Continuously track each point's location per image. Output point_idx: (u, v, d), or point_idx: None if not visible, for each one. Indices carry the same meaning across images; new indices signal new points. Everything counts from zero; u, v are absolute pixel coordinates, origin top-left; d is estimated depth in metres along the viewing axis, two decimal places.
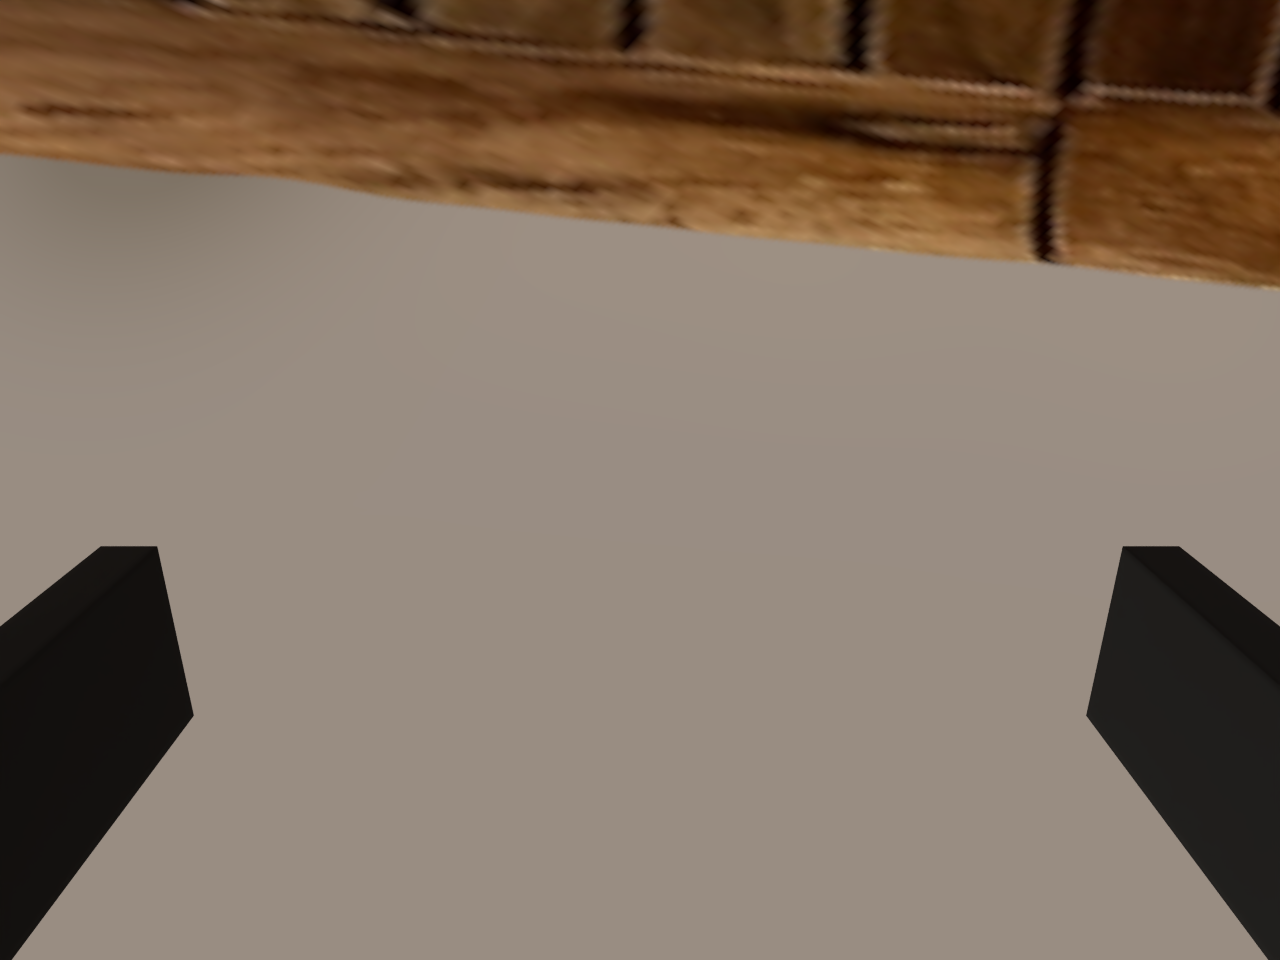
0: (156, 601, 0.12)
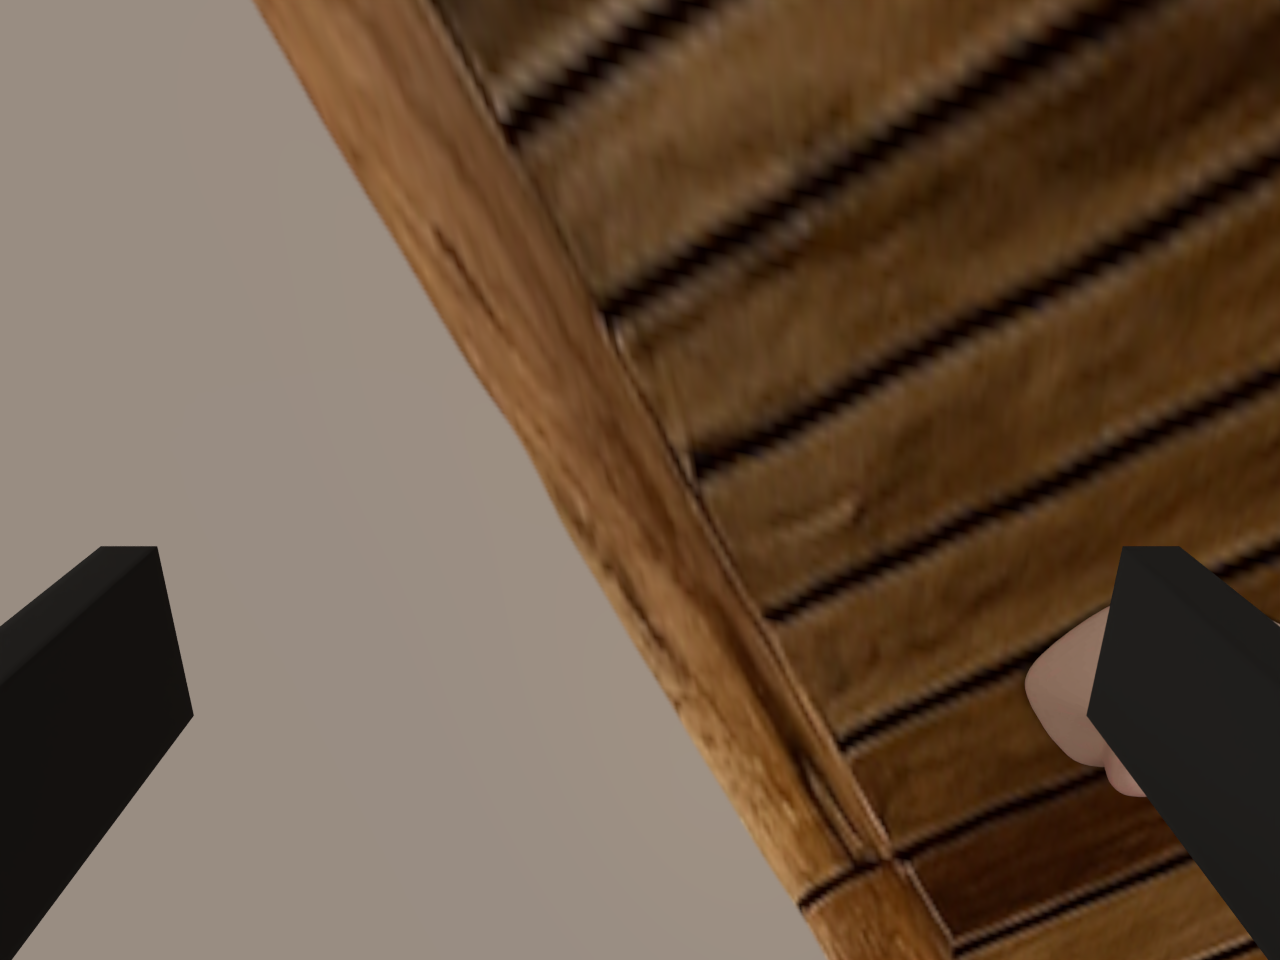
0: (156, 601, 0.12)
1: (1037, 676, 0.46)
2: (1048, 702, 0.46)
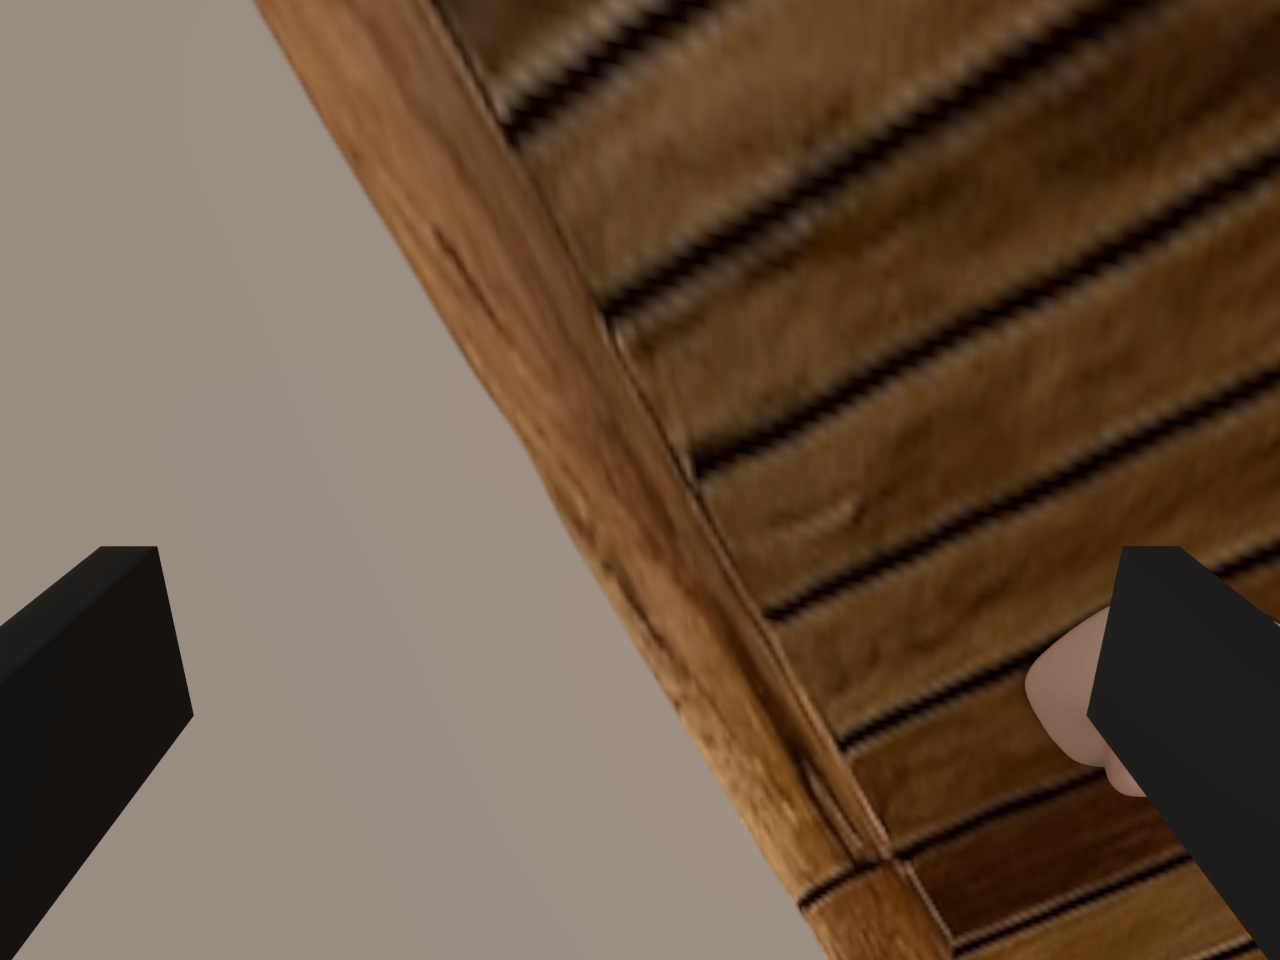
0: (156, 601, 0.12)
1: (1037, 676, 0.46)
2: (1048, 702, 0.46)
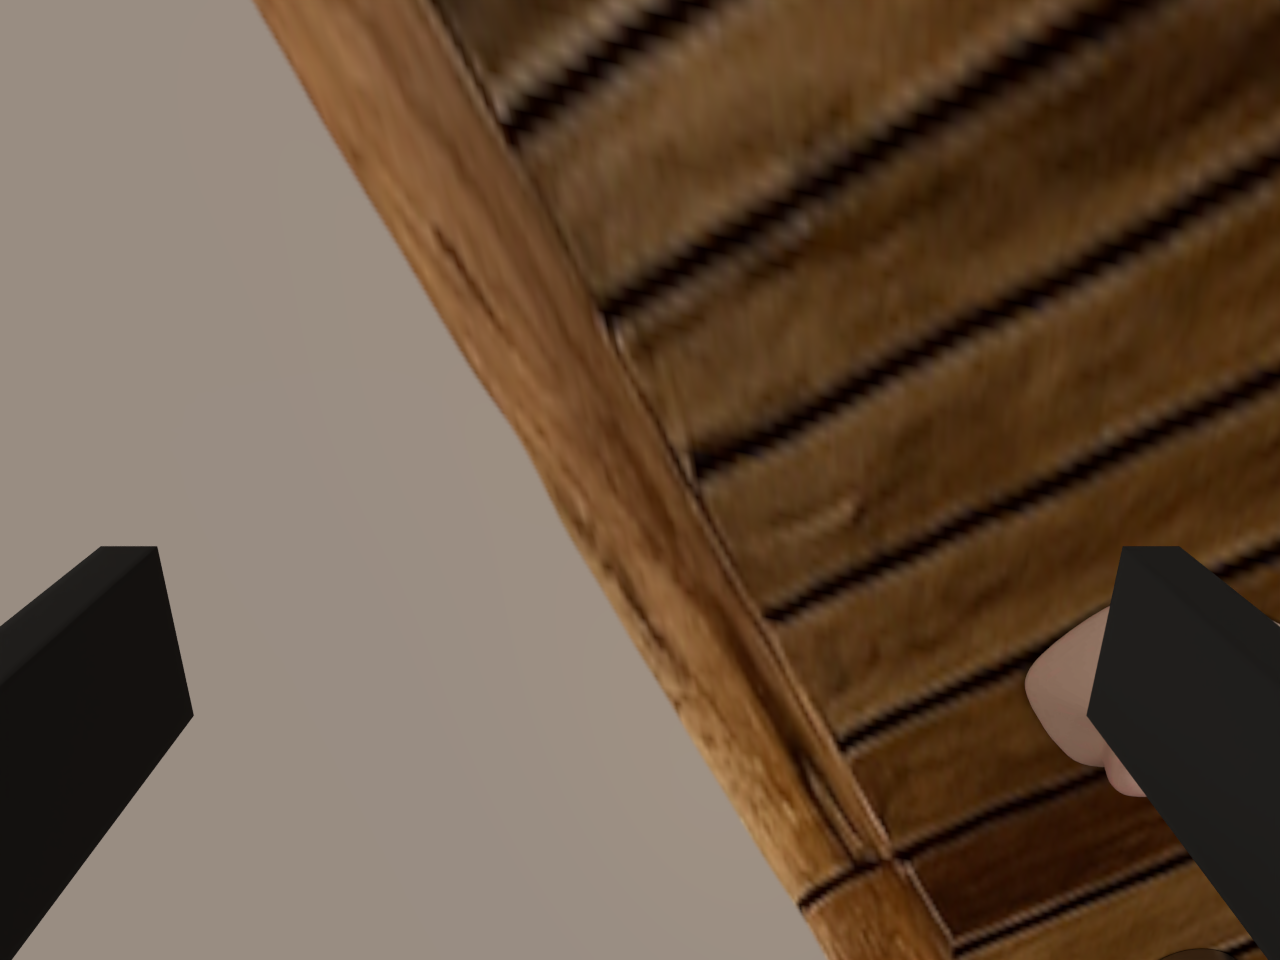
0: (156, 601, 0.12)
1: (1037, 676, 0.46)
2: (1048, 702, 0.46)
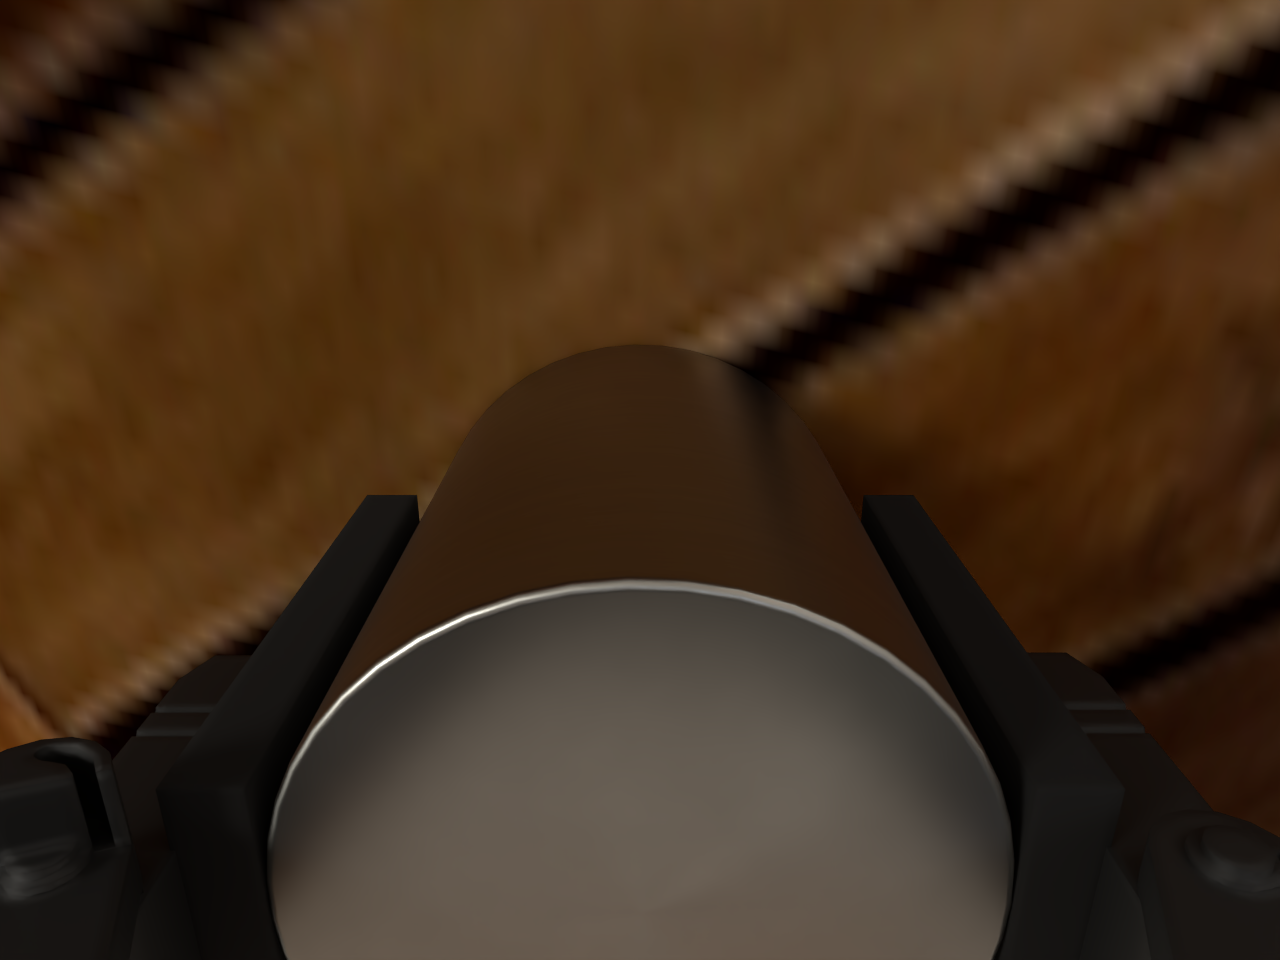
0: None
1: None
2: None
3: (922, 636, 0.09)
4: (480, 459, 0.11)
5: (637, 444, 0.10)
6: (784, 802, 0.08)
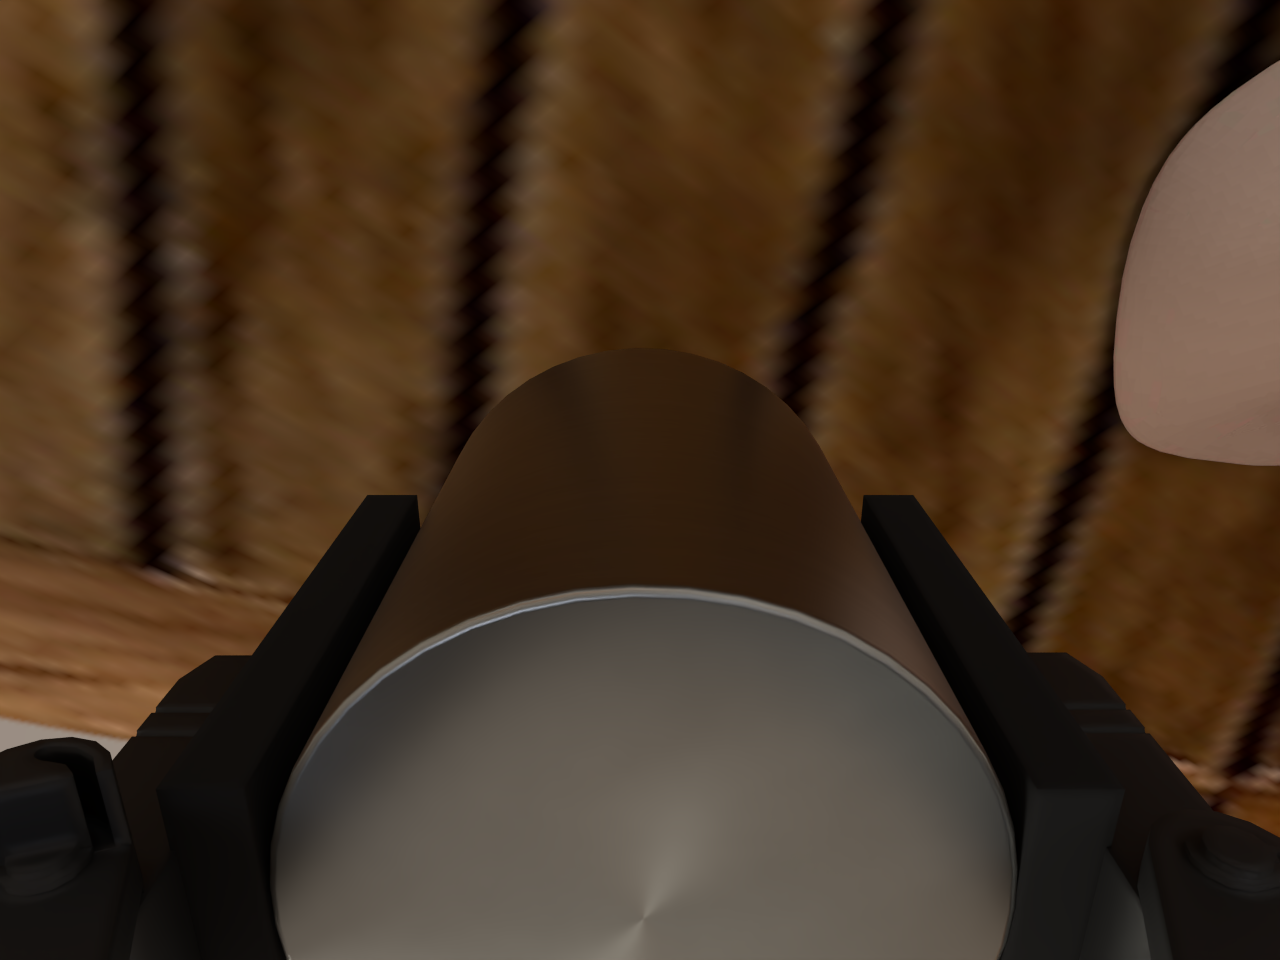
0: None
1: (1139, 419, 0.24)
2: (1196, 436, 0.24)
3: (925, 641, 0.09)
4: (482, 463, 0.11)
5: (640, 448, 0.10)
6: (786, 807, 0.08)
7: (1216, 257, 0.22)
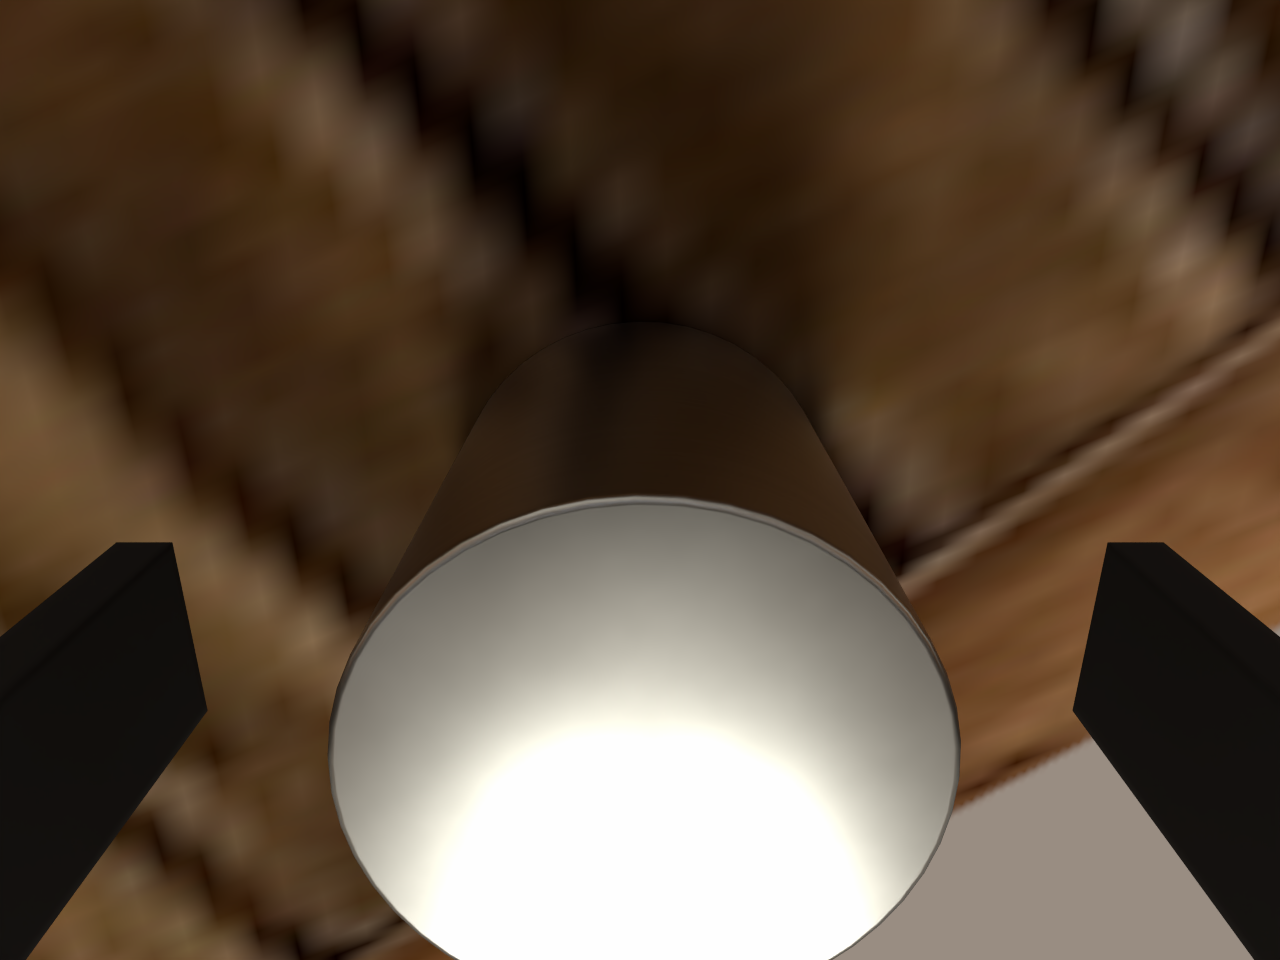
0: (172, 597, 0.12)
1: None
2: None
3: (886, 561, 0.11)
4: (502, 417, 0.13)
5: (641, 399, 0.11)
6: (765, 688, 0.09)
7: None
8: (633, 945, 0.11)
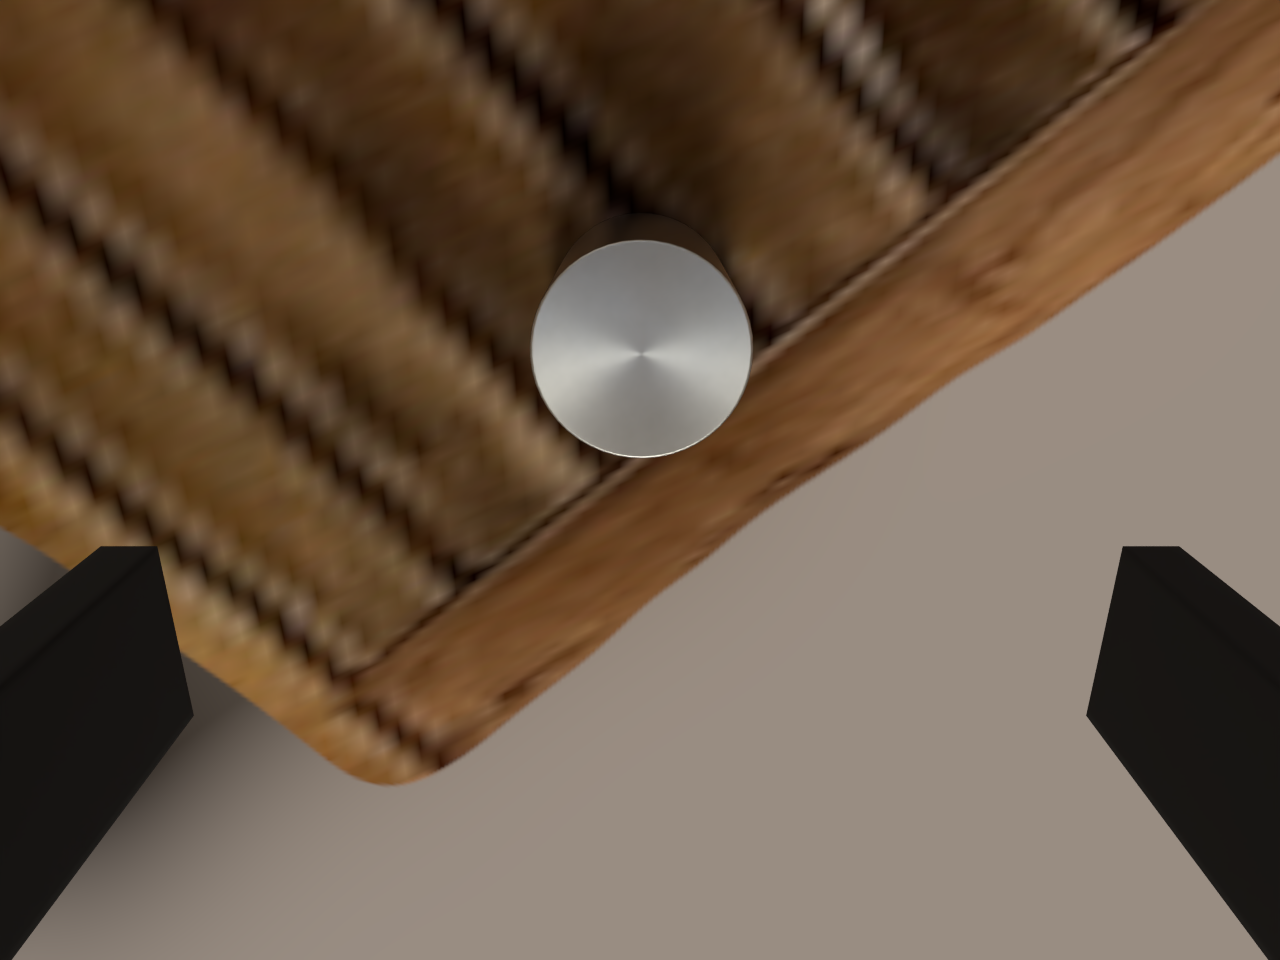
0: (157, 601, 0.12)
1: None
2: None
3: (732, 283, 0.29)
4: (582, 243, 0.31)
5: (640, 227, 0.29)
6: (682, 312, 0.27)
7: None
8: (637, 425, 0.28)
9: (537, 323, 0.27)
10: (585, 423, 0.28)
